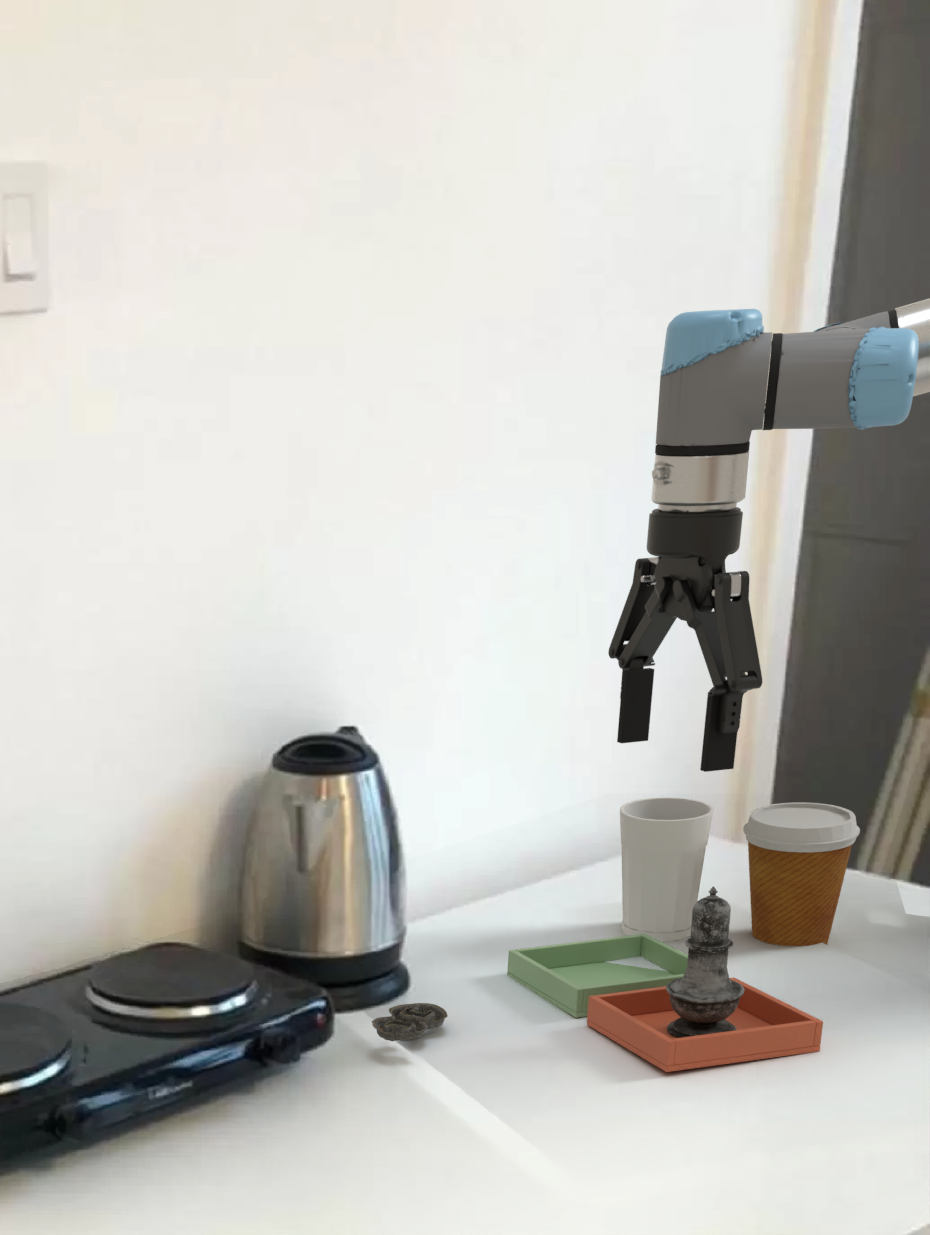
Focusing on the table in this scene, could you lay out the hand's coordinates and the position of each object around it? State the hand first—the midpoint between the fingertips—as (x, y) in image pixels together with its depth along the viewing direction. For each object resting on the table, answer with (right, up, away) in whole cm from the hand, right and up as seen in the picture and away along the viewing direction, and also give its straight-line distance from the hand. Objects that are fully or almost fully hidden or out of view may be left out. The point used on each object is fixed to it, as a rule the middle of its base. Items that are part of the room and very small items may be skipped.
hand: (673, 755), depth 182 cm
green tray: (-7, -21, -5) cm, 23 cm away
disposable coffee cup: (+12, -17, +3) cm, 21 cm away
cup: (+1, -15, +8) cm, 17 cm away
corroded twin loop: (-27, -26, -12) cm, 39 cm away
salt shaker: (-4, -26, -18) cm, 32 cm away
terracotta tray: (-4, -26, -18) cm, 32 cm away
